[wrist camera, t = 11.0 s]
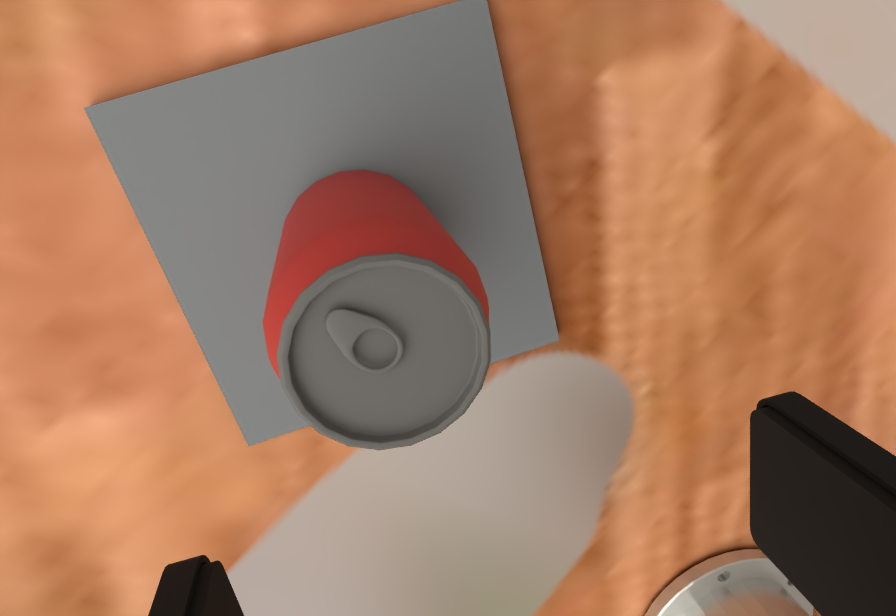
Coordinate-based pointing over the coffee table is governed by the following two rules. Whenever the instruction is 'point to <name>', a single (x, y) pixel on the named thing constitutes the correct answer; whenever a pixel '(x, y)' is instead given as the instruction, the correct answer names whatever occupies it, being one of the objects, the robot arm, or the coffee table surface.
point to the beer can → (374, 314)
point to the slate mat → (320, 155)
